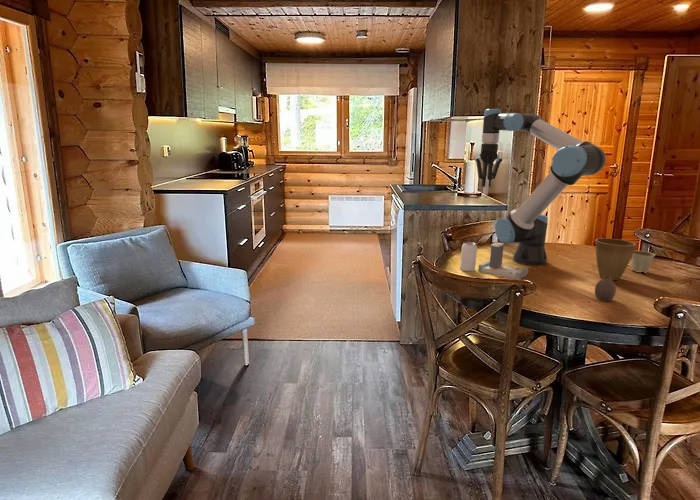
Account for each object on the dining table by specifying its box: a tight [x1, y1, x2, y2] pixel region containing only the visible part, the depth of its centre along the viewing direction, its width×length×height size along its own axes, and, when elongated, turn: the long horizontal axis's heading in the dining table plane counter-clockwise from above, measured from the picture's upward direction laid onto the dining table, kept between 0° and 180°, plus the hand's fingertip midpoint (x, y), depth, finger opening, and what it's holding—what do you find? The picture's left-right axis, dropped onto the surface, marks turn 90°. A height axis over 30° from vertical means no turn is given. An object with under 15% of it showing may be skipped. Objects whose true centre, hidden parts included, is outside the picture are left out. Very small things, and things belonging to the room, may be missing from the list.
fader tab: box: [489, 242, 505, 268], centre depth 213 cm, size 3×6×12 cm, turn 141°
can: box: [459, 241, 478, 272], centre depth 215 cm, size 6×6×12 cm
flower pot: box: [631, 250, 656, 272], centre depth 219 cm, size 9×9×9 cm
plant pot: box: [595, 237, 637, 281], centre depth 207 cm, size 15×15×16 cm
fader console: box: [477, 259, 529, 280], centre depth 212 cm, size 18×10×3 cm, turn 51°
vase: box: [594, 276, 617, 302], centre depth 181 cm, size 7×7×9 cm
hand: (485, 193), depth 235 cm, fingers closed
